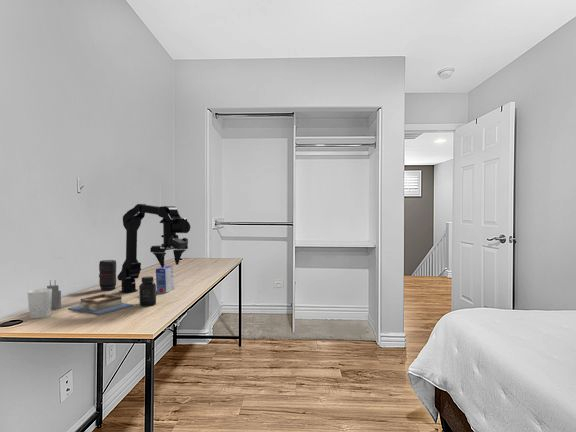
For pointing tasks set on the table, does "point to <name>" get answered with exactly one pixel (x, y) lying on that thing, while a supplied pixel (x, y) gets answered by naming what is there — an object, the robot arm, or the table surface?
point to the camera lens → (107, 274)
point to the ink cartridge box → (164, 279)
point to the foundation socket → (101, 302)
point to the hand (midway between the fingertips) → (170, 265)
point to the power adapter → (55, 296)
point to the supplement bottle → (147, 291)
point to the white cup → (40, 302)
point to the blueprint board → (78, 308)
